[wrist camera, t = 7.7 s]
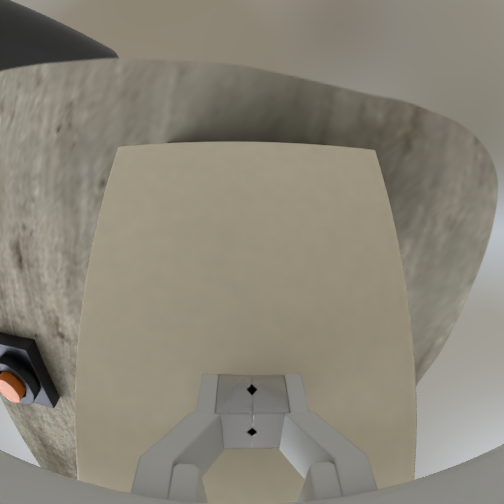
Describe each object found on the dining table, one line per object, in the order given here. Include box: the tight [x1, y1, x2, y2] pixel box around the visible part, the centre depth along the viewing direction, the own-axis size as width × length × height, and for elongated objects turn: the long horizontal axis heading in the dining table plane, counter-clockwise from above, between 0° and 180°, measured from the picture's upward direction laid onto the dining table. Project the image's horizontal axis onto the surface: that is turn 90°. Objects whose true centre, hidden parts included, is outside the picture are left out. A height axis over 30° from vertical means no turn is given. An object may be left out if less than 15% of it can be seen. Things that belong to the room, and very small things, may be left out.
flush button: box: [0, 371, 25, 403], centre depth 27 cm, size 4×4×2 cm
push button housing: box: [0, 333, 60, 408], centre depth 29 cm, size 10×8×4 cm
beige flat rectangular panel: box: [75, 142, 417, 504], centre depth 11 cm, size 15×13×1 cm
